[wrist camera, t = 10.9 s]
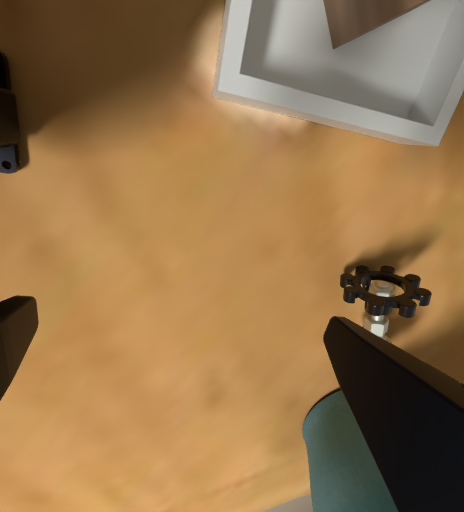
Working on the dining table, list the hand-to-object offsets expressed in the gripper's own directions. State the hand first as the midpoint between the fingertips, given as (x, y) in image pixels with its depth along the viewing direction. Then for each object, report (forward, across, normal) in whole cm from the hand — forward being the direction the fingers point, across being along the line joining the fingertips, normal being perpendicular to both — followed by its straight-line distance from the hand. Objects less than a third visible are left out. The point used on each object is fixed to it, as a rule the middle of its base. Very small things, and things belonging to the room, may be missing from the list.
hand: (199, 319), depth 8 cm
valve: (+14, -18, +9) cm, 24 cm away
